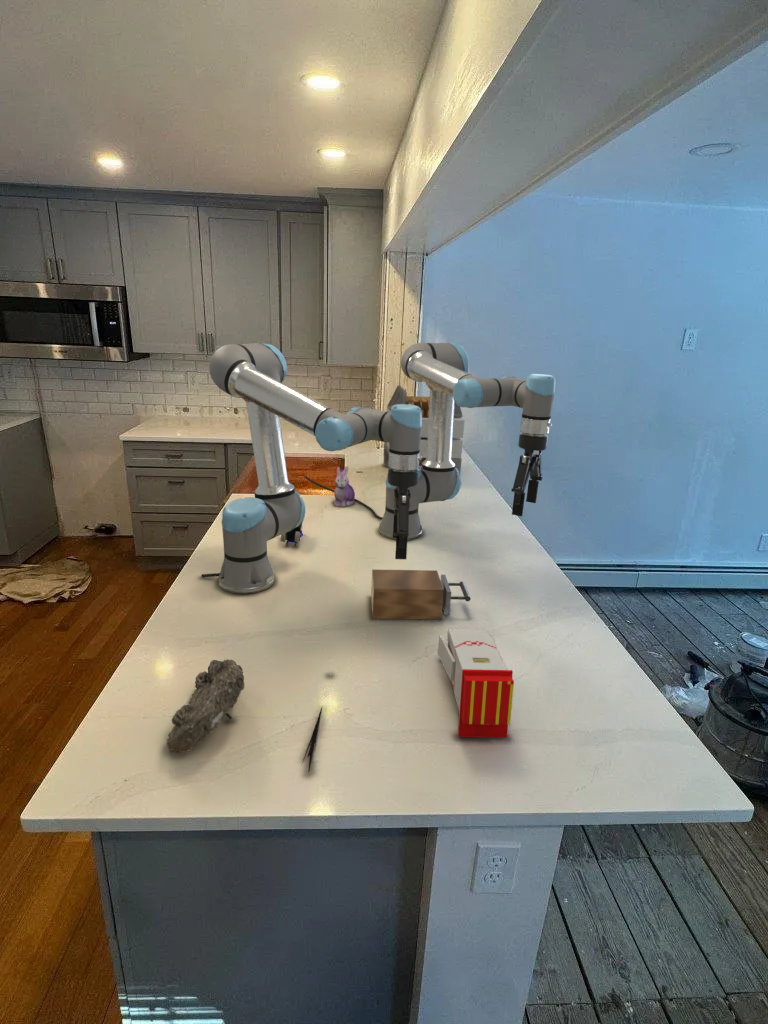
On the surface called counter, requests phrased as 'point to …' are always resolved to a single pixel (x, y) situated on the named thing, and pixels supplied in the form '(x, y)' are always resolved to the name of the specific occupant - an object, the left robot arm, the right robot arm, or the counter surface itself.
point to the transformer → (423, 403)
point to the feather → (313, 740)
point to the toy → (478, 682)
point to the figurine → (343, 489)
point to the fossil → (206, 705)
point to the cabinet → (406, 594)
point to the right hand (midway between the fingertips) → (524, 508)
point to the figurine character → (293, 535)
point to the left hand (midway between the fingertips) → (399, 547)
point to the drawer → (447, 593)
